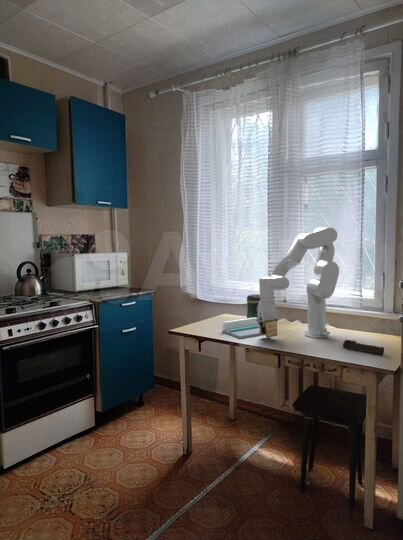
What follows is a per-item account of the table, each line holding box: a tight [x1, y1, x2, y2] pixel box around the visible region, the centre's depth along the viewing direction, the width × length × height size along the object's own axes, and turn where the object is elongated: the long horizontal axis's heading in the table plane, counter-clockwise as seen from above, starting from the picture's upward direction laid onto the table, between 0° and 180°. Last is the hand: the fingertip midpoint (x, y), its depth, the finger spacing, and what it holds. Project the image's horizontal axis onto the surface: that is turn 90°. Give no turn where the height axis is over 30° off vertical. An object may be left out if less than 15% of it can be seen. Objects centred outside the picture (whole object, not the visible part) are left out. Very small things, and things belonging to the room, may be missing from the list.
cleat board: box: [221, 317, 261, 340], centre depth 225 cm, size 18×24×6 cm
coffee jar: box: [246, 293, 260, 325], centre depth 249 cm, size 10×8×19 cm
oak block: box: [258, 320, 278, 339], centre depth 210 cm, size 8×6×8 cm
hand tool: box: [342, 339, 385, 357], centre depth 185 cm, size 19×4×5 cm, turn 45°
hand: (268, 332), depth 210 cm, fingers closed on oak block, 6 cm apart
